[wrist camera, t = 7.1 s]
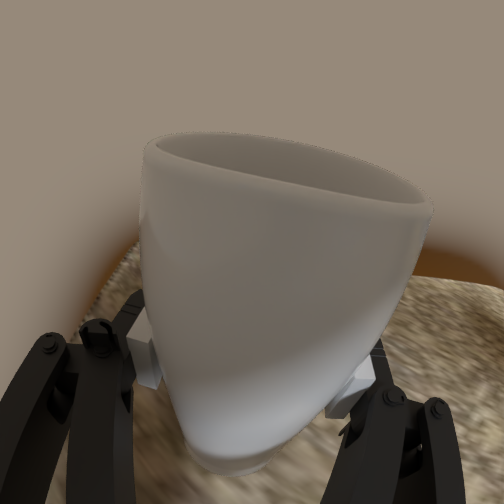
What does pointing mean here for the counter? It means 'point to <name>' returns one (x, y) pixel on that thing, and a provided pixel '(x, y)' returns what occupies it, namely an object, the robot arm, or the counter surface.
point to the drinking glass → (267, 282)
